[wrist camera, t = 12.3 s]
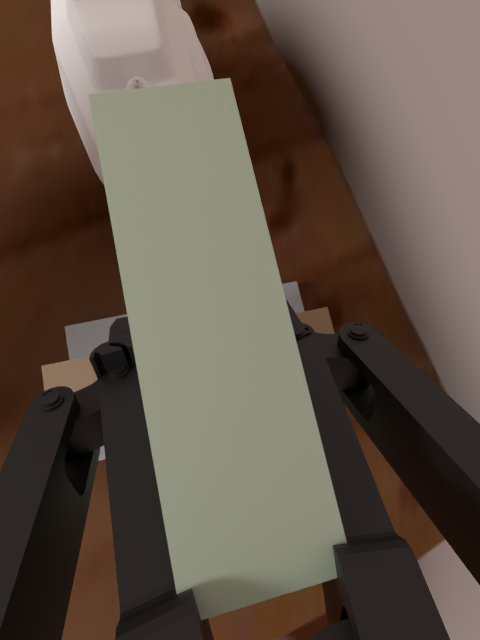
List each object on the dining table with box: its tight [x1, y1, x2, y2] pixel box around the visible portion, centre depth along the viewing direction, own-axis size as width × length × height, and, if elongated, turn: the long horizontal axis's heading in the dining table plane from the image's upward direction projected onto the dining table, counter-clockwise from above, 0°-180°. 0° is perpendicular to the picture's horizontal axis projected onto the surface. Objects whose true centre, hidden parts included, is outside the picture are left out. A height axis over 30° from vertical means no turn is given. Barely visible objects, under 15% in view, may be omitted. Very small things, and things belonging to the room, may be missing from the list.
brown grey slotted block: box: [41, 281, 335, 461], centre depth 27 cm, size 20×11×10 cm, turn 103°
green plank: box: [88, 78, 347, 620], centre depth 16 cm, size 3×10×18 cm, turn 13°
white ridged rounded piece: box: [51, 0, 214, 186], centre depth 27 cm, size 11×18×16 cm, turn 16°
